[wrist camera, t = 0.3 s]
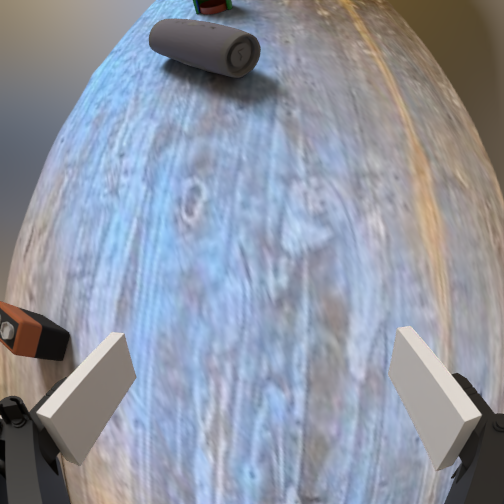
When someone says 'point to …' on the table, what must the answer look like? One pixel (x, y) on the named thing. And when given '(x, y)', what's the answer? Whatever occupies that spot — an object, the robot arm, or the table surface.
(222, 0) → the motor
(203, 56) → the bluetooth speaker
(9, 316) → the battery
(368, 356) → the table surface
